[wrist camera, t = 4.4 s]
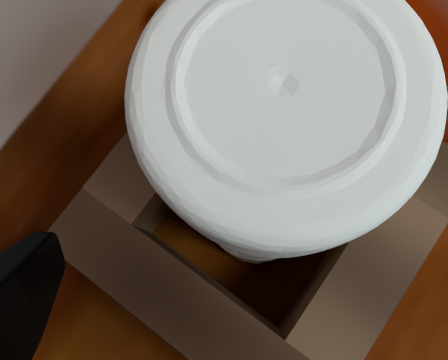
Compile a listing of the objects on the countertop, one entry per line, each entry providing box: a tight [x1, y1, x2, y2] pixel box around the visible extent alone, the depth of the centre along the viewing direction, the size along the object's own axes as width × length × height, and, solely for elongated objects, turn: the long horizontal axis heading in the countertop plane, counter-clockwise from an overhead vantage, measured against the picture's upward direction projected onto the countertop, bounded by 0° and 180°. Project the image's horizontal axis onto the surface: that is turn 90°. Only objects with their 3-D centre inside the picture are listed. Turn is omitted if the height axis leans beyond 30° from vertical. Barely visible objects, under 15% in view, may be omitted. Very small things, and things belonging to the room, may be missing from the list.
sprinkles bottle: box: [124, 0, 448, 264], centre depth 12 cm, size 5×5×14 cm
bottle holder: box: [47, 130, 448, 360], centre depth 17 cm, size 12×12×4 cm
